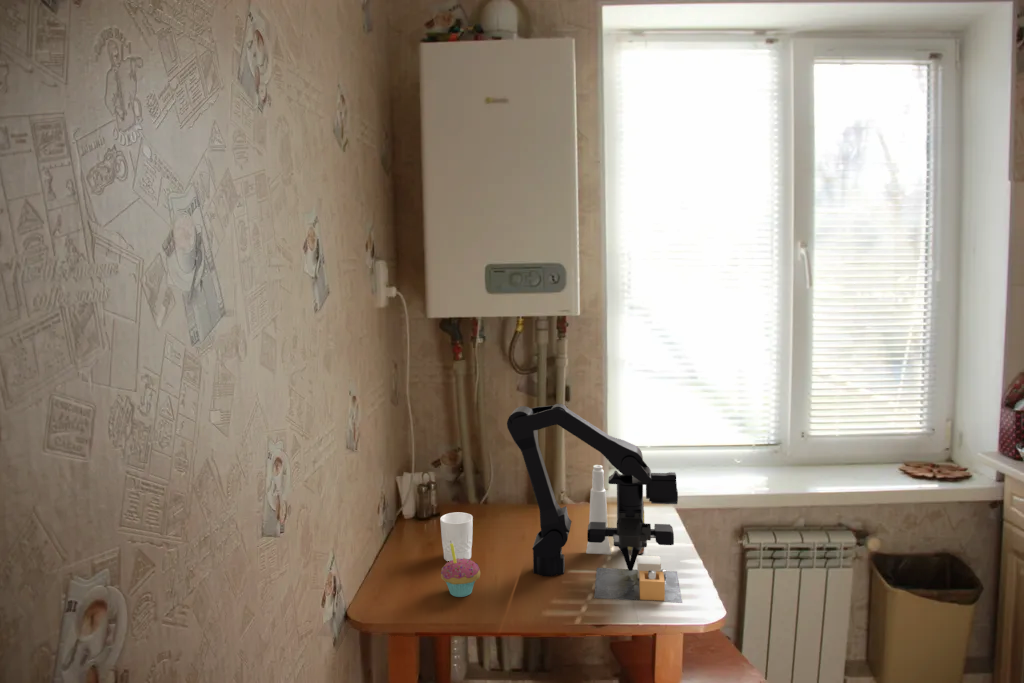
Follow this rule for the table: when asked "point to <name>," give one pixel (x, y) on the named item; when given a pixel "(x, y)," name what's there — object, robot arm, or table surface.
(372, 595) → the table surface
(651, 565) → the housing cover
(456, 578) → the cupcake
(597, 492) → the cosmetic bottle
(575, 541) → the table surface
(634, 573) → the base plate
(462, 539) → the white cup
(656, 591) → the orange hollow square block
